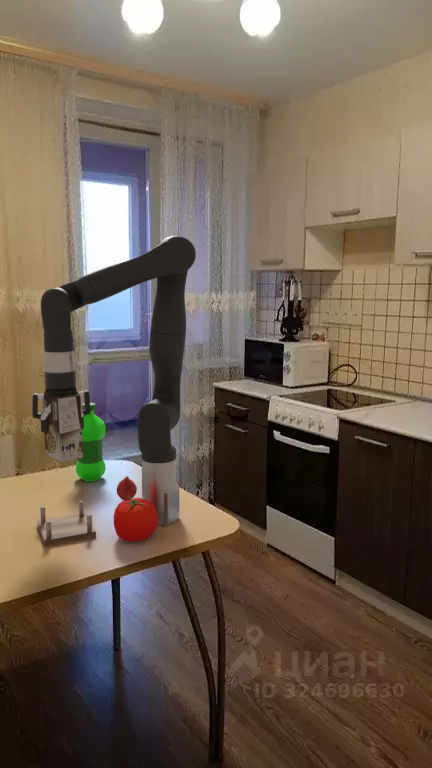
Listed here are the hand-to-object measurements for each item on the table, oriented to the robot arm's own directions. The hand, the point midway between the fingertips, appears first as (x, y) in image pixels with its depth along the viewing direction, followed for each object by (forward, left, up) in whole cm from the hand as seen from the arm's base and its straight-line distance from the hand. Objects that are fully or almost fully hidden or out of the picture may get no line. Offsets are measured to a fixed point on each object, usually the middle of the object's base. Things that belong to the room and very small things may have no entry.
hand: (62, 432), depth 146 cm
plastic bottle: (+19, -33, -26) cm, 46 cm away
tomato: (-19, -3, -26) cm, 33 cm away
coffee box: (0, 0, -6) cm, 6 cm away
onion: (-3, -22, -26) cm, 35 cm away
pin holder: (-1, +2, -26) cm, 26 cm away
